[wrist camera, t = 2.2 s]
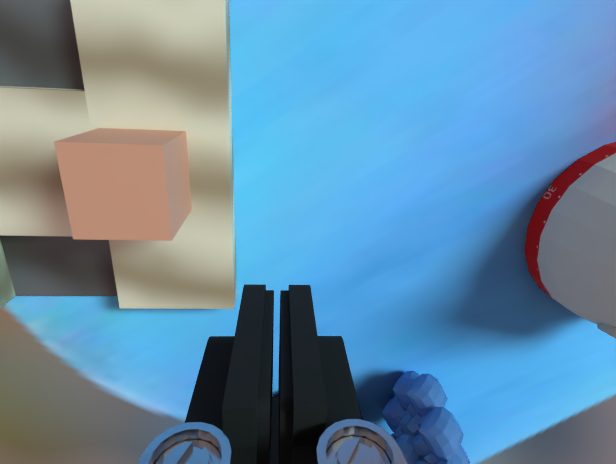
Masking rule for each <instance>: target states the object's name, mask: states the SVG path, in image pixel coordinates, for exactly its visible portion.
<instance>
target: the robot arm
mask: <svg viewBox="0 0 616 464" xmlns="http://www.w3.org/2000/svg"><path fill="white" fill-rule="evenodd" d="M273 314H274V290H266V285H244V288H243V293H242V299H241V304H240V310H239V316H238V321H237V327H236V332H235V336H219V337H209V339H208V342H207V345H206V349H205V352H204V356H203V360H202V363H201V367H200V370H199V374H198V377H197V381H196V385H195V388H194V392H193V395H192V399H191V403H190V406H189V410H188V413H187V417H186V420H185V423H184V424H180V425H177V426H174V427H172V428H170V429H168V430H166V431H165V432H163V433H161V434H160V435H159V436H158V437H157V438H155V439H154V440H153V441H152V442H151V443H150V444H149V446H148V447H147V449H146V450H145V451H144V453H143V454H142V456H141V458H140V460H139V462H138V463H137V464H270V454H271V418H272V381H273ZM278 464H407V462H406V460H405V458H404V456H403V453H402V451H401V449H400V447H399V446H398V444H397V443H396V441H395V440H394V438H393V437H392V436H391V435H390V434H389V433H388V432H386V431H385V430H384V429H383V428H381V427H379V426H378V425H376V424H374V423H372V422H369V421H364V420H362V418H361V414H360V410H359V405H358V401H357V397H356V393H355V388H354V384H353V380H352V376H351V372H350V367H349V363H348V359H347V355H346V351H345V346H344V342H343V339H342V337H341V336H317V330H316V323H315V316H314V309H313V302H312V295H311V288H310V285H289V291H281V294H280V341H279V396H278Z"/></svg>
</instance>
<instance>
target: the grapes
mask: <svg viewBox="0 0 616 464" xmlns="http://www.w3.org/2000/svg"><path fill="white" fill-rule="evenodd" d="M392 390H393V392H394V394H395V396H394V397H393V398H391V399H390V400H389V401H388V403H387V404H386V406H385V408H384V410H383V412H382V414H383V416H384V418H385V420H386V422H387V424H388V426H389V427H390V429H391V430H392V431H393V432H394V433H393V434H392V435H391V436H392V437H393V438H394V440H395V441H396V443H397V444H398V446H399V447H400V449H401V451H402V453H403V456H404V458H405V460H406V462H407V464H470V461H469V459H468V457H467V455H466V452H465V451H464V449H463V448H462V446H461V442H462V439H463V433H462V431H461V429H460V426H459V424H458V422H457V421H456V419H455V418H454V416H453V415H452V413H450V412H449V411H448V410H446V409H445V408H444V406H445V404H446V401H447V397H446V394H445V392H444V390H443V388H442V386H441V384H440V383H439V382H438V380H437V379H436V378H435V377H433V376H432V375H431V374H422V375H419V374H417V373H416V372H414V371H407V372H406V373H404V374H403V375H402V376H401V377H400V378H399V379H398V381H397V382H396V384H395V385H394V387H393V389H392Z"/></svg>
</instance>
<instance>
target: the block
mask: <svg viewBox="0 0 616 464" xmlns="http://www.w3.org/2000/svg"><path fill="white" fill-rule="evenodd" d="M54 145H55V150H56V155H57V160H58V165H59V170H60V176H61V181H62V186H63V191H64V196H65V201H66V206H67V211H68V216H69V221H70V226H71V231H72V236H73V239H86V240H153V241H172V240H173V238H174V237H175V235H176V234H177V232H178V231H179V229H180V227H181V226H182V224H183V223H184V221H185V220H186V218H187V217H188V215H189V213H190V212H191V210H192V207H191V192H190V178H189V164H188V150H187V136H186V131H173V130H145V129H118V128H97V129H94V130H91V131H87V132H84V133H81V134H77V135H74V136H71V137H68V138H64V139H61V140H58V141H54Z"/></svg>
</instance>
